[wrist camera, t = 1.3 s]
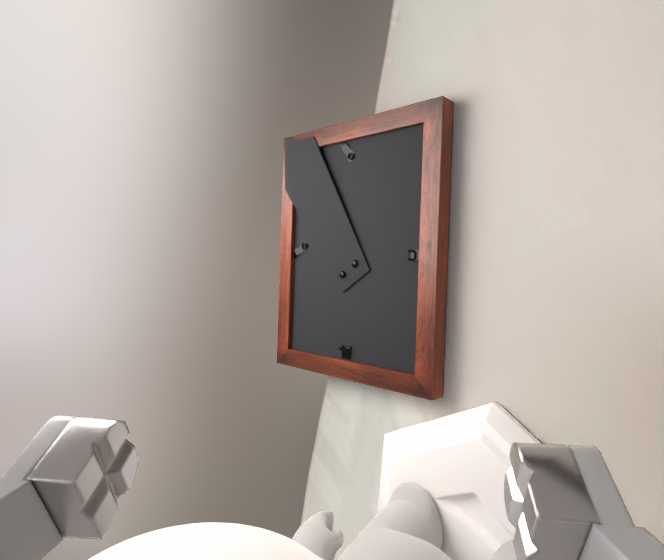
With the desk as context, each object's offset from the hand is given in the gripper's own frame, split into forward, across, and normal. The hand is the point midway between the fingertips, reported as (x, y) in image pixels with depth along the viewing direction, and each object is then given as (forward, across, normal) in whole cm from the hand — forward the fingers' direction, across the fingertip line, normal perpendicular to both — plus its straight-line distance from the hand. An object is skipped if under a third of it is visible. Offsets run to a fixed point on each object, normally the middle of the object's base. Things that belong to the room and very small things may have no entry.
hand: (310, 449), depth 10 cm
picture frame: (+36, +1, +13) cm, 38 cm away
